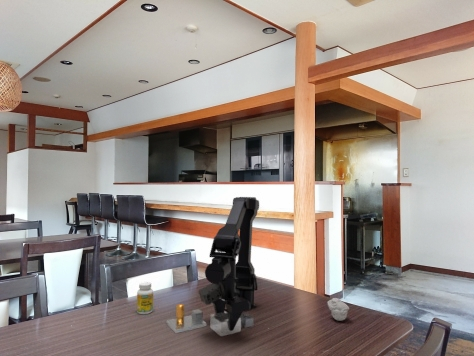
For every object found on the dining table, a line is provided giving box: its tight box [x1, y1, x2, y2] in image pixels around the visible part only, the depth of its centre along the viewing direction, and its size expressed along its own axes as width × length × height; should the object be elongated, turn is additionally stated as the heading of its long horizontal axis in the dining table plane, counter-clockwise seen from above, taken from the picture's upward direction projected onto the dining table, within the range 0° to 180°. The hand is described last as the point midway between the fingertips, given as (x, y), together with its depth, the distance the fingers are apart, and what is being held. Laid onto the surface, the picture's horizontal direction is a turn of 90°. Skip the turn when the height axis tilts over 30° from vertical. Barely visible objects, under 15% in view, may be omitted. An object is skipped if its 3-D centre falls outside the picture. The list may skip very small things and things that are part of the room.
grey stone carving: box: [327, 297, 350, 322], centre depth 111 cm, size 6×7×7 cm
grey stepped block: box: [240, 313, 255, 328], centre depth 106 cm, size 6×4×3 cm
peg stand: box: [165, 303, 207, 334], centre depth 106 cm, size 10×8×6 cm
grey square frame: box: [209, 310, 242, 337], centre depth 103 cm, size 7×7×4 cm
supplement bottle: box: [136, 281, 154, 315], centre depth 116 cm, size 5×5×10 cm
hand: (225, 326), depth 103 cm, fingers closed on grey square frame, 7 cm apart
